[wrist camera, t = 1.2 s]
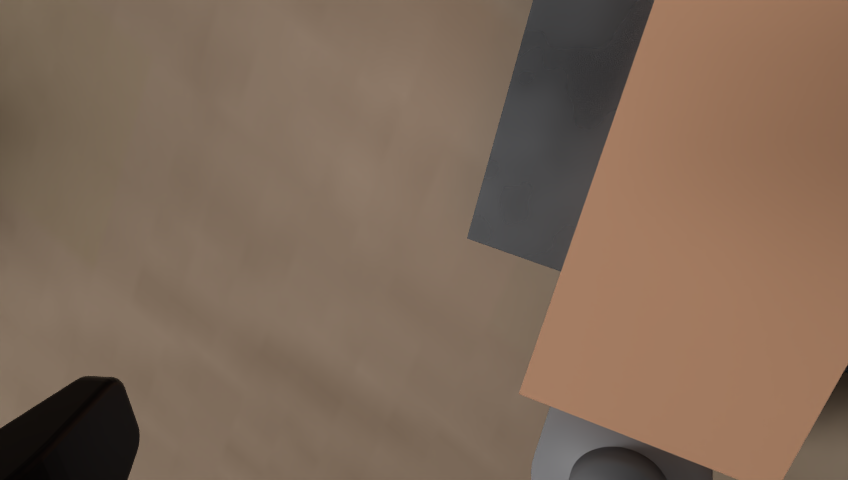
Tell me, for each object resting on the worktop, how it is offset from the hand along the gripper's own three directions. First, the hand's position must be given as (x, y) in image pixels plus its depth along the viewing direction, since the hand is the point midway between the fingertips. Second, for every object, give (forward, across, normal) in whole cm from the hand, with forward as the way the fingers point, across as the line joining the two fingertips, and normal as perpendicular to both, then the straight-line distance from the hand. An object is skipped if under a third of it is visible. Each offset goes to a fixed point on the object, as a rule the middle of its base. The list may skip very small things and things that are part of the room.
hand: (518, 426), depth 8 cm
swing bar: (+10, -4, +1) cm, 11 cm away
